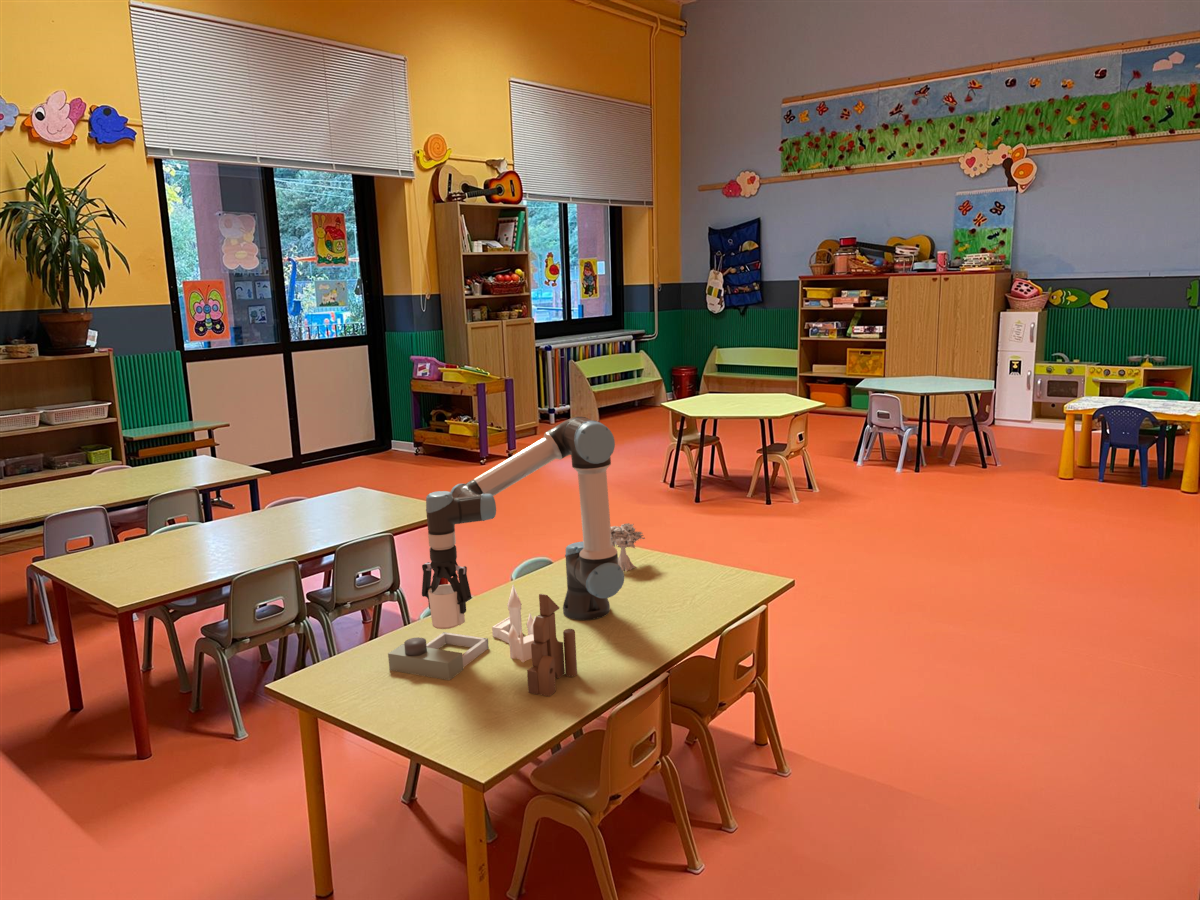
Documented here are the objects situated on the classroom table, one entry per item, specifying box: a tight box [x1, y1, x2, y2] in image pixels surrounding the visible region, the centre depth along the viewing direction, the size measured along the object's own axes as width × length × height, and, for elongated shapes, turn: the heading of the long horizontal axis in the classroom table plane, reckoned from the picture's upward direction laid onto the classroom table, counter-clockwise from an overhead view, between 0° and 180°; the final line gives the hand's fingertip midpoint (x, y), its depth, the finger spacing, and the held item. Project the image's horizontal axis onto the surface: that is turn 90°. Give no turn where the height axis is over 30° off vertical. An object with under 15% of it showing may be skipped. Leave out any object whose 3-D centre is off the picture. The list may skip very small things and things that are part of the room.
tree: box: [610, 522, 646, 572], centre depth 327 cm, size 18×16×17 cm
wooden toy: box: [526, 593, 578, 697], centre depth 235 cm, size 16×7×25 cm, turn 152°
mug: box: [428, 583, 459, 630], centre depth 255 cm, size 11×9×10 cm
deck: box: [387, 631, 489, 681], centre depth 255 cm, size 20×22×8 cm
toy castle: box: [491, 584, 536, 663], centre depth 263 cm, size 14×25×16 cm, turn 39°
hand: (448, 621), depth 256 cm, fingers closed on mug, 8 cm apart
